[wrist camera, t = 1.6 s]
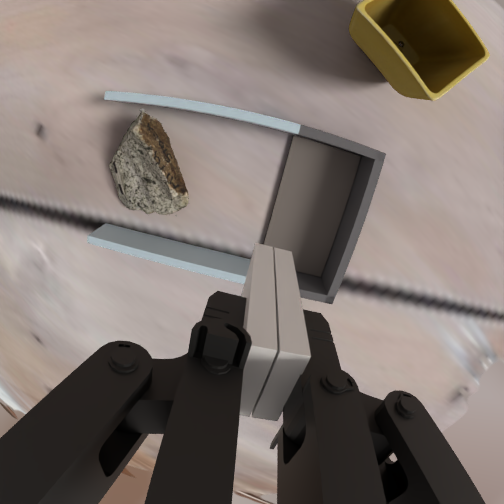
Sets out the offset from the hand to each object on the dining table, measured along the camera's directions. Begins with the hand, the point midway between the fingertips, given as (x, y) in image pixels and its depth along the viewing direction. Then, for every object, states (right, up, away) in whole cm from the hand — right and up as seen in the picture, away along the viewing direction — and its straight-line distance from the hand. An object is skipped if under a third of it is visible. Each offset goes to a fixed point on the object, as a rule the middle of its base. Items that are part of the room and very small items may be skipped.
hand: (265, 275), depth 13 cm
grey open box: (+5, +5, +15) cm, 17 cm away
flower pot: (+13, +20, +9) cm, 26 cm away
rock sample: (-10, +9, +15) cm, 20 cm away
